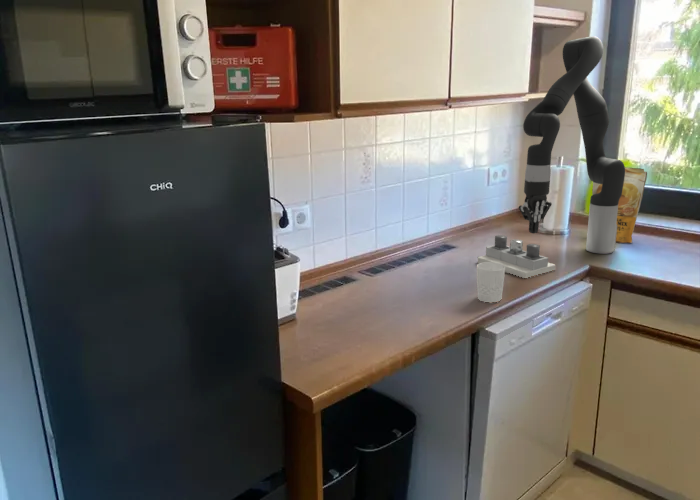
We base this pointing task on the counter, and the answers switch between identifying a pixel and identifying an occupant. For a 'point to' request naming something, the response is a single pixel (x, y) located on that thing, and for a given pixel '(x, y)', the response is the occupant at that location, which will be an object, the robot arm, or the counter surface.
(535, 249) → the charcoal knob
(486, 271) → the white cup
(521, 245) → the steel knob
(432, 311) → the counter surface
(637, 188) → the pancake mix bag
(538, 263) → the panel
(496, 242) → the charcoal knob
